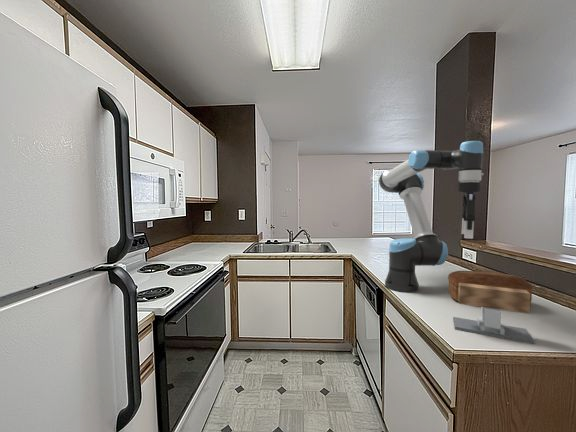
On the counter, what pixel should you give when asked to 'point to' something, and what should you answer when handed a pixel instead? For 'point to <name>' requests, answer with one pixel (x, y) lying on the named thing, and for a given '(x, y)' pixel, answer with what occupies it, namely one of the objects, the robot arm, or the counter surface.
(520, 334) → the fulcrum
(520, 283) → the bread
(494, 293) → the walnut beam
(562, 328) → the counter surface
